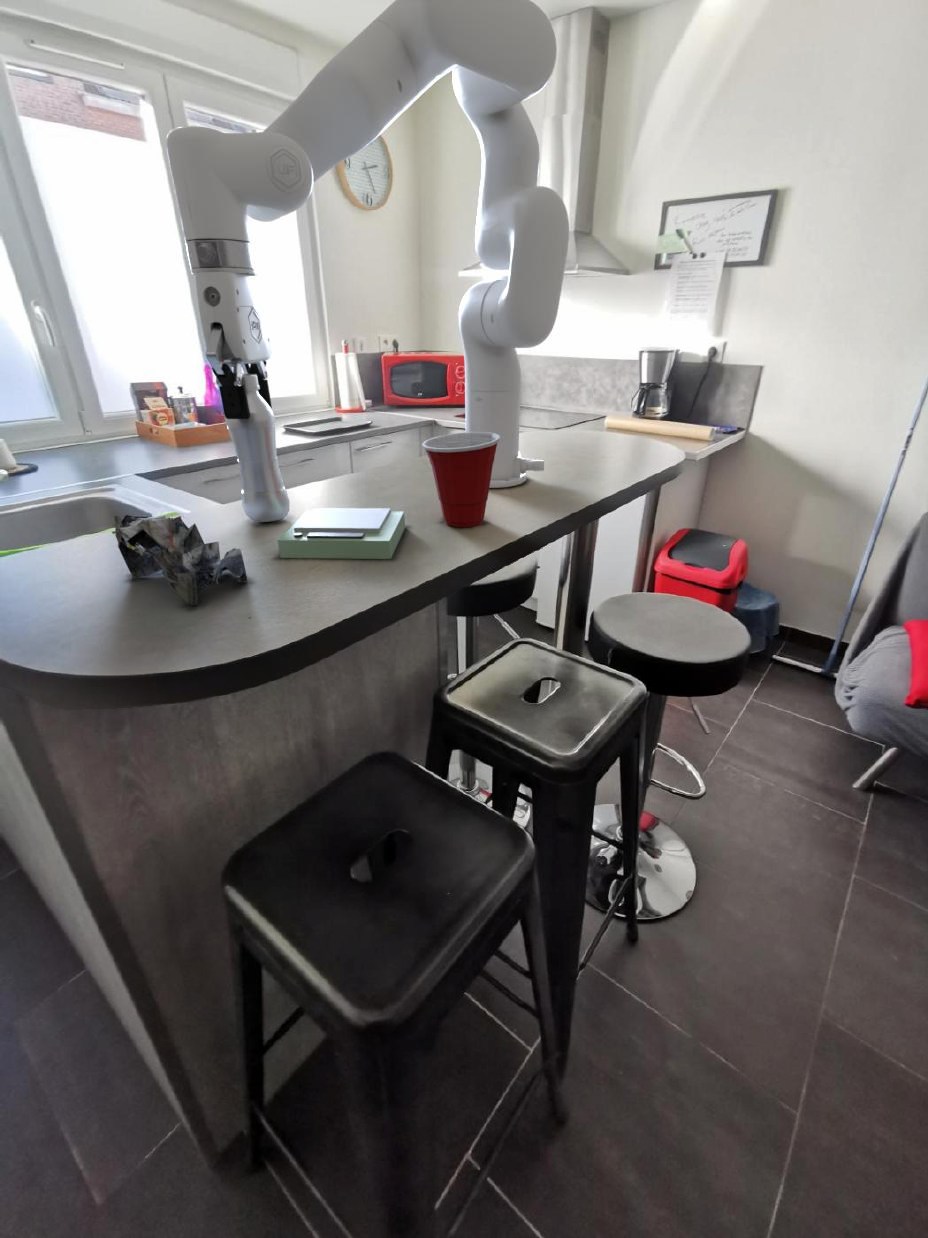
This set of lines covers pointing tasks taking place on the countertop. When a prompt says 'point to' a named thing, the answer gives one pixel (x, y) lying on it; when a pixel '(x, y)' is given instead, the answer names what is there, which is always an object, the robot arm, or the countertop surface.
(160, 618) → the countertop surface
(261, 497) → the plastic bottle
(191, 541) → the crumpled newspaper
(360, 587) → the countertop surface
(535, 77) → the robot arm
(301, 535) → the scale
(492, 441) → the plastic cup
